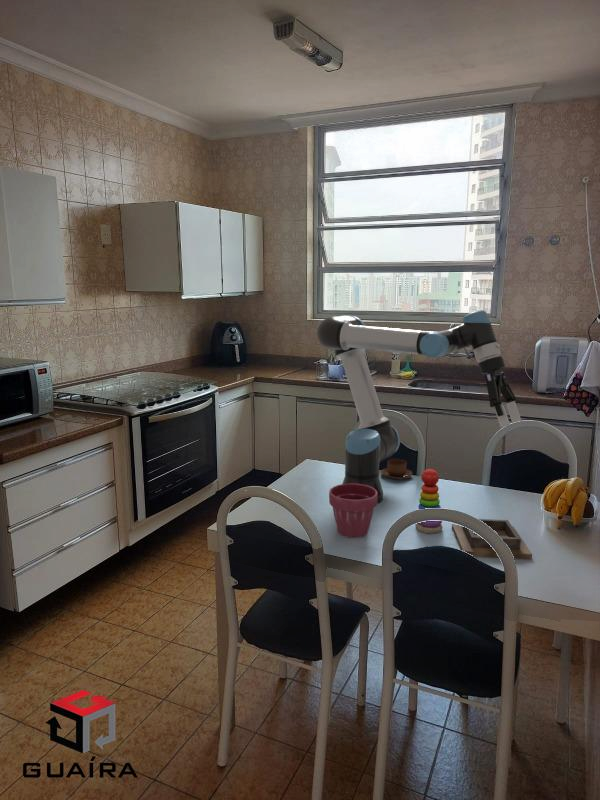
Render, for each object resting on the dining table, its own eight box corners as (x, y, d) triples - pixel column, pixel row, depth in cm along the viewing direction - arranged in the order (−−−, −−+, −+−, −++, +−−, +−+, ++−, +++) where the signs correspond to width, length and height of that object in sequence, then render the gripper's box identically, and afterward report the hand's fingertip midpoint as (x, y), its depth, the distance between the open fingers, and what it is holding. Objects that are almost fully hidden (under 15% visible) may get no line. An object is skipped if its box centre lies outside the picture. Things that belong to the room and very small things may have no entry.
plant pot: (320, 534, 163) (320, 493, 161) (342, 518, 175) (342, 480, 173) (364, 546, 156) (365, 503, 153) (384, 528, 168) (385, 488, 165)
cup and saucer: (386, 470, 223) (386, 455, 222) (415, 474, 218) (416, 459, 217) (377, 478, 213) (377, 463, 212) (407, 483, 208) (408, 467, 207)
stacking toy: (444, 526, 169) (447, 467, 166) (439, 536, 162) (442, 475, 158) (418, 522, 172) (421, 464, 169) (412, 531, 165) (415, 472, 162)
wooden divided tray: (463, 556, 150) (464, 540, 149) (451, 528, 168) (452, 514, 167) (531, 559, 148) (533, 543, 147) (513, 531, 166) (514, 517, 165)
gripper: (489, 355, 161) (512, 424, 159) (511, 354, 181) (532, 416, 179) (465, 363, 165) (487, 431, 163) (489, 362, 186) (509, 423, 183)
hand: (511, 424), depth 171 cm, fingers open, 13 cm apart
